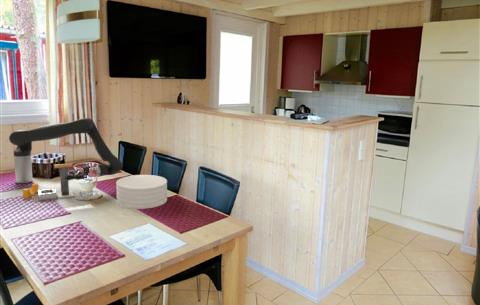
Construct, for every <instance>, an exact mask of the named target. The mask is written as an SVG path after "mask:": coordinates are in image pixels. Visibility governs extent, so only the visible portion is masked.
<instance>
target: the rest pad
mask: <svg viewBox="0 0 480 305" xmlns="http://www.w3.org/2000/svg"><path fill="white" fill-rule="evenodd" d="M72 192H73V191H69V195H61V192H56V193H57V196H58V198H65V199H67V198H66V197H73V198H75V197H74V196H75V194H74V192H73V193H72ZM73 194H74V195H73Z"/></svg>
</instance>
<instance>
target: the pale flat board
mask: <svg viewBox="0 0 480 305" xmlns="http://www.w3.org/2000/svg"><path fill="white" fill-rule="evenodd" d="M71 192H72V193H73V195H74V197H66V198H58V196H57V199H51V200H42V201H39V198H38V195H33V196H31V201H32V203H40V202H46V201H55V200H63V199H71V198H73V199H74V198H76V196H75V194H74V191H71Z"/></svg>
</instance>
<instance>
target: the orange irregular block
mask: <svg viewBox="0 0 480 305" xmlns="http://www.w3.org/2000/svg"><path fill="white" fill-rule="evenodd" d="M38 190H39V183H31V188H24V189H22V198H23V199H30V198H32V196H35V195H36V194H38Z"/></svg>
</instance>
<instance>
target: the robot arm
mask: <svg viewBox="0 0 480 305" xmlns="http://www.w3.org/2000/svg"><path fill="white" fill-rule="evenodd" d="M76 134H87V135H88V137H89V138H90V139H91V141H92V143H93V146H94V148H95V151H96V153H97V154H98V155H99V157H100V158H101V161H103V162H107V163H108V164H106V163H100V164H97V165H98V170H97V177H101V176H112V175H115V174H118V173H119V172H120V171H122V169H123V163H122V162H121V160H120V159H119V158H118V157H117V156H115V155H114V154H113V152H112V151H111V150H110V148H109V147H108V145H107V144H106V143H105V140H103V138H102V135H101V134H100V132H99V130H98V127H97V125H96V123H95V122H94V120H93V119H91V118H90V117H82V118H79V119H75V120H72V121H69V122H59V123H57V122H56V123H51V124H46V125H42V126H39V127H35V128H32V129H19V130H15V131H13V132H11V133H10V135H9V136H8V138H9V142H10V144H12V145H15V146H16V148H15V150H14V151H13V159H14V160H13V161H14V162H13V163H14V172H15V182H16V183H18V184H25V183H31V182H33V165H32V149H33V147H32V146H33V142H41V141H50V140H55V139H61V138H63V137H66V136H69V135H76ZM82 168H83V169H84V172H81V171H79V170H78V169H76V168H75V169H68V176H67V180H68V181H71V180H72V181H73V180H76V181H79V180H85V179H84V178H87V175H88V173H89V168H90V165H85V166H82ZM77 170H78V171H77ZM85 171H86V172H85ZM58 175H59V176H58V177H60V173H58Z"/></svg>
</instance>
